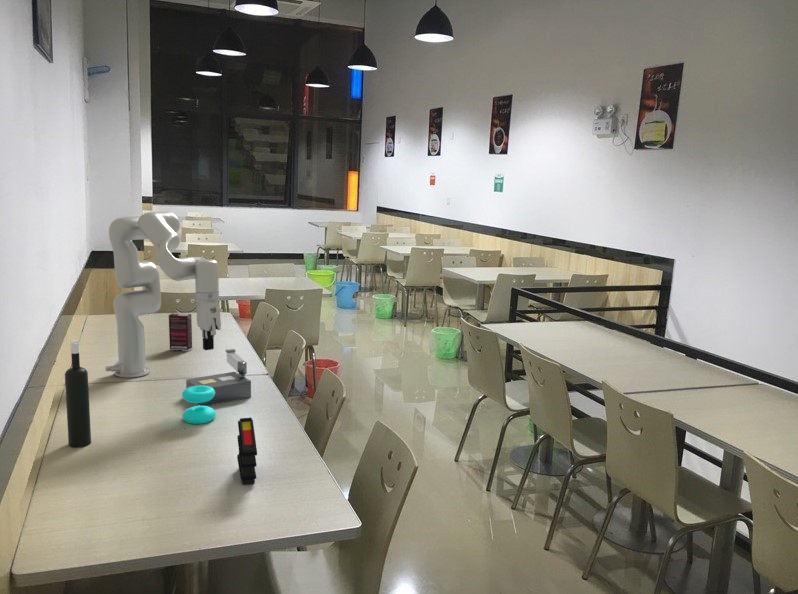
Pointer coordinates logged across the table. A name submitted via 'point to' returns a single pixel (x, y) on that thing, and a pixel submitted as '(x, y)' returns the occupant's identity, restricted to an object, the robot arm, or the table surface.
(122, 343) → the robot arm
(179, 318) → the supplement box
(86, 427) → the wine bottle
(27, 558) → the table surface
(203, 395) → the donuts
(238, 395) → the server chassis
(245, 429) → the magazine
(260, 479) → the table surface
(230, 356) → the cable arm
